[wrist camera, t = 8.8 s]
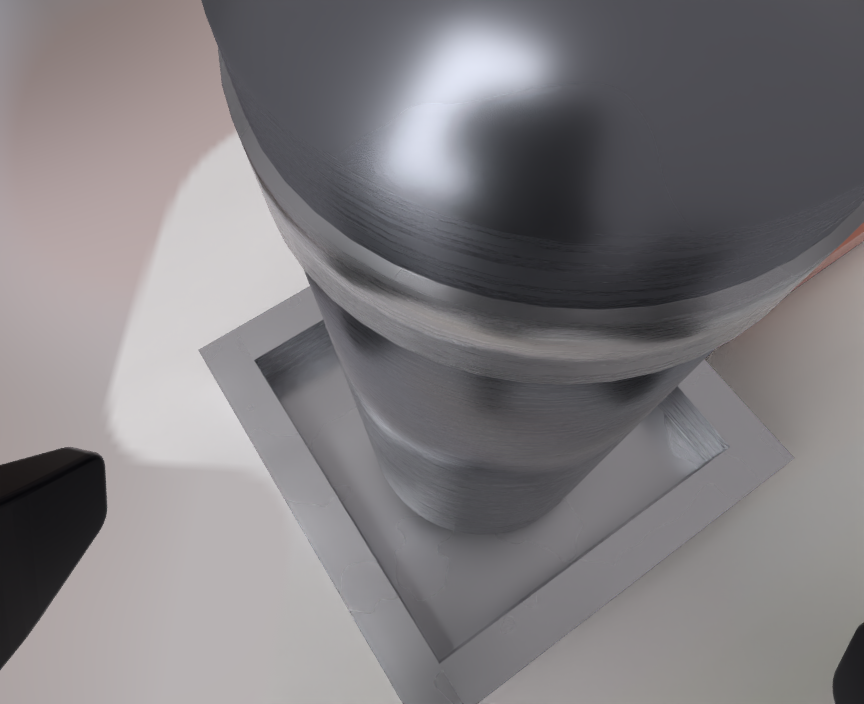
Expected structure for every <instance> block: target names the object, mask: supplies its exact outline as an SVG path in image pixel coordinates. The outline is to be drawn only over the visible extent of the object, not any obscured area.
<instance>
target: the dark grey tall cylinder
mask: <svg viewBox="0 0 864 704" xmlns="http://www.w3.org/2000/svg"><path fill="white" fill-rule="evenodd" d="M202 3H203V7H204V10H205V14H206V16H207V19H208V22H209V24H210V27H211V29H212V32H213V35H214V37H215V40H216V42H217V45H218V52H219V62H220V71H221V80H222V86H223V90H224V94H225V97H226V100H227V103H228V107H229V111H230V114H231V117H232V120H233V123H234V125H235V128H236V130H237V133H238V135H239V138H240V140H241V142H242V145H243V147H244V150H245V152H246V154H247V157H248V159H249V162H250V164H251V167H252V169H253V171H254V174H255V176H256V179H257V181H258V184H259V186H260V188H261V191H262V193H263V196H264V198H265V200H266V203H267V205H268V208H269V210H270V212H271V214H272V217H273V219H274V221H275V223H276V225H277V227H278V229H279V231H280V233H281V235H282V237H283V239H284V241H285V243H286V244H287V246H288V247H289V249H290V250H291V251H292V253H293V254H294V256H295V257H296V259H297V260H298V262H299V263H300V264H301V266H302V267H303V269H304V271H305V274H306V276H307V279H308V281H309V284H310V287H311V289H312V292H313V294H314V297H315V300H316V302H317V305H318V307H319V310H320V313H321V315H322V318H323V320H324V323H325V326H326V328H327V331H328V333H329V336H330V339H331V341H332V344H333V346H334V349H335V352H336V354H337V357H338V359H339V362H340V365H341V367H342V370H343V372H344V375H345V378H346V380H347V383H348V385H349V388H350V391H351V393H352V396H353V398H354V401H355V403H356V406H357V409H358V411H359V414H360V416H361V419H362V422H363V424H364V427H365V429H366V432H367V435H368V437H369V440H370V442H371V445H372V448H373V450H374V453H375V455H376V458H377V461H378V463H379V466H380V468H381V470H382V472H383V474H384V476H385V478H386V480H387V481H388V483H389V485H390V486H391V488H392V489H393V491H394V492H395V493H396V494H397V495H398V496H399V498H400V499H401V500H402V501H403V502H404V503H405V504H406V505H407V506H409V507H410V508H411V509H412V510H413V511H414V512H416V513H417V514H419V515H420V516H422V517H423V518H425V519H426V520H428V521H430V522H432V523H434V524H436V525H438V526H441V527H444V528H447V529H450V530H453V531H456V532H462V533H467V534H479V535H487V534H499V533H504V532H508V531H513V530H516V529H519V528H521V527H524V526H527V525H529V524H531V523H533V522H535V521H536V520H538V519H540V518H542V517H543V516H544V515H546V514H547V513H548V512H550V511H551V510H552V509H553V508H554V507H556V506H557V505H558V504H559V503H560V502H561V501H562V500H563V499H564V498H565V497H566V496H567V495H568V494H569V493H570V492H571V491H572V490H573V489H574V488H575V487H576V486H577V485H578V484H579V483H580V482H581V481H582V480H583V479H584V478H585V477H586V476H587V475H588V474H589V473H590V472H591V471H592V470H593V469H594V468H595V467H596V466H597V465H598V464H599V463H600V462H601V461H602V460H603V459H604V458H605V457H606V456H607V455H608V454H609V453H610V452H611V451H612V450H613V449H614V448H615V447H616V446H617V445H618V444H619V443H620V442H621V441H622V440H623V439H624V438H625V437H626V436H627V435H628V434H629V433H630V432H631V431H632V430H633V429H634V428H635V427H637V426H638V425H639V424H640V423H641V422H642V421H643V420H644V419H645V418H646V417H647V416H648V415H649V414H650V413H651V412H652V411H653V410H654V409H655V408H656V407H657V406H658V405H659V404H660V403H661V402H662V401H663V400H664V399H665V398H666V397H667V396H668V395H669V394H670V393H671V392H672V391H673V390H674V389H675V388H676V387H677V386H678V385H679V384H680V383H681V382H682V381H683V380H684V379H685V378H686V377H687V376H688V375H689V374H690V373H691V372H692V371H693V370H694V369H695V368H696V367H697V366H698V365H699V364H700V363H701V362H702V361H703V360H704V359H705V358H706V357H707V356H708V355H709V354H710V353H711V352H712V351H713V350H714V349H715V348H717V347H719V346H721V345H723V344H725V343H727V342H729V341H731V340H733V339H734V338H735V337H737V336H738V335H740V334H741V333H742V332H744V331H745V330H747V329H748V328H749V327H751V326H752V325H754V324H755V323H756V322H758V321H759V320H761V319H762V318H763V317H764V316H765V315H766V314H767V313H769V312H770V311H771V310H772V309H773V308H774V307H775V306H776V305H777V304H778V303H779V302H780V301H781V300H782V299H783V298H785V297H786V296H787V295H788V294H789V293H790V292H791V291H792V290H793V289H794V288H795V287H796V286H797V285H798V284H799V283H801V282H802V281H803V280H804V279H805V278H806V277H807V276H808V275H809V274H810V273H811V272H812V271H813V270H814V269H815V268H816V267H818V266H819V265H820V264H821V263H822V262H823V261H824V260H825V259H826V258H827V257H828V256H829V255H830V254H831V253H832V252H834V251H835V250H836V249H837V248H838V247H839V246H840V245H841V244H842V243H843V242H844V241H845V240H846V239H847V238H848V237H849V236H850V235H851V234H852V233H853V232H854V231H855V230H856V229H857V228H858V227H859V226H860V225H861V224H862V223H863V222H864V0H202Z"/></svg>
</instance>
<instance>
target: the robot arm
mask: <svg viewBox="0 0 864 704" xmlns="http://www.w3.org/2000/svg"><path fill="white" fill-rule="evenodd" d="M106 514H107V495H106V476H105V464H104V460H103V458H102V456H100V455H99V454H98V453H96V452H91V451H87V450H82V449H78V448H73V447H65V448H61V449H57V450H54V451H50V452H46V453H42V454H39V455H35V456H32V457H28V458H25V459H21V460H17V461H13V462H10V463H6V464H2V465H0V670H1V669H2V667H3V666H4V665H5V664H6V663H7V661H8V660H9V659H10V658H11V656H12V655H13V654H14V653H15V651H16V650H17V649H18V648H19V646H20V645H21V644H22V643H23V641H24V640H25V639H26V637H27V636H28V635H29V633H30V632H31V631H32V629H33V628H34V626H35V625H36V624H37V622H38V621H39V620H40V618H41V617H42V615H43V614H44V612H45V611H46V609H47V608H48V606H49V605H50V603H51V602H52V600H53V599H54V597H55V596H56V595H57V593H58V592H59V590H60V589H61V587H62V586H63V584H64V583H65V581H66V580H67V578H68V577H69V575H70V574H71V572H72V571H73V570H74V568H75V567H76V565H77V564H78V562H79V561H80V559H81V558H82V556H83V555H84V553H85V552H86V550H87V549H88V547H89V546H90V544H91V543H92V542H93V540H94V538H95V537H96V535H97V534H98V533H99V531H100V529H101V527H102V526H103V524H104V521H105V518H106ZM833 696H834V701H835V704H864V623H862V624H861V625H860V626H859V627H858V628H857V630H856V632H855V634H854V636H853V638H852V639H851V641H850V643H849V645H848V647H847V649H846V651H845V653H844V655H843V657H842V659H841V661H840V663H839V665H838V667H837V669H836V671H835V674H834V678H833Z"/></svg>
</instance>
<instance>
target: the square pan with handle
mask: <svg viewBox="0 0 864 704" xmlns="http://www.w3.org/2000/svg"><path fill="white" fill-rule="evenodd" d="M863 241H864V222H863V223H862V224H861V225H860V226H859V227H858V228H857V229H856V230H855V231H854V232H853V233H852V234H851V235H850V236H849V237H848V238H847V239H846V240H845V241H844V242H843V243H842V244H841V245H840V246H839V247H838V248H837V249H836V250H835V251H834V252H832V253H831V254H830V255H829V256H828V257H827V258H826V259H825V260H824V261H823V262H822V263H821V264H820V265H819V266H818V267H816V268H815V269H814V270H813V271H812V272H811V273H810V274H809V275H808V276H807V277H806V278H805V279H804V280H803V281H802V282H801V283H799V284H798V285H797V286H796V287H795V288H794V289H796V288H797V287H799V286H800V285H801V284H803V283H804V282H806V281H807V280H809V279H810V278H811V277H813V276H814V275H816V274H817V273H819V272H820V271H822V270H823V269H824V268H826V267H827V266H829V265H830V264H832V263H833V262H834V261H836V260H837V259H839V258H840V257H842V256H843V255H844V254H846V253H847V252H849V251H850V250H852V249H853V248H854V247H856V246H857V245H859V244H860V243H862V242H863ZM794 289H793V290H794ZM793 290H792V291H793ZM199 352H200V354H201V355H202V357H203V359H204V361H205V362H206V364H207V366H208V368H209V369H210V371H211V373H212V374H213V376H214V378H215V380H216V381H217V383H218V385H219V387H220V388H221V390H222V392H223V394H224V395H225V397H226V399H227V400H228V402H229V404H230V406H231V407H232V409H233V411H234V413H235V414H236V416H237V418H238V419H239V421H240V423H241V425H242V426H243V428H244V430H245V432H246V433H247V435H248V437H249V439H250V440H251V442H252V444H253V445H254V447H255V449H256V451H257V452H258V454H259V456H260V458H261V459H262V461H263V463H264V464H265V466H266V468H267V470H268V471H269V473H270V475H271V477H272V478H273V480H274V482H275V483H276V485H277V487H278V489H279V490H280V492H281V494H282V496H283V497H284V499H285V501H286V503H287V504H288V506H289V508H290V509H291V511H292V513H293V515H294V516H295V518H296V520H297V522H298V523H299V525H300V527H301V528H302V530H303V532H304V534H305V535H306V537H307V539H308V541H309V542H310V544H311V546H312V547H313V549H314V551H315V553H316V554H317V556H318V558H319V560H320V561H321V563H322V565H323V567H324V568H325V570H326V572H327V573H328V575H329V577H330V579H331V580H332V582H333V584H334V586H335V587H336V589H337V591H338V592H339V594H340V596H341V598H342V599H343V601H344V603H345V605H346V606H347V608H348V610H349V611H350V613H351V615H352V617H353V618H354V620H355V622H356V624H357V625H358V627H359V629H360V631H361V632H362V634H363V636H364V637H365V639H366V641H367V643H368V644H369V646H370V648H371V650H372V651H373V653H374V655H375V656H376V658H377V660H378V662H379V663H380V665H381V667H382V669H383V670H384V672H385V674H386V675H387V677H388V679H389V681H390V682H391V684H392V686H393V688H394V689H395V691H396V693H397V695H398V696H399V698H400V700H401V701H402V703H403V704H477V703H479V702H480V701H481V700H483V699H484V698H485V697H486V696H488V695H489V694H490V693H492V692H493V691H494V690H495V689H497V688H498V687H499V686H501V685H502V684H503V683H505V682H506V681H507V680H508V679H510V678H511V677H512V676H514V675H515V674H516V673H517V672H519V671H520V670H521V669H523V668H524V667H525V666H526V665H528V664H529V663H530V662H532V661H533V660H534V659H536V658H537V657H538V656H539V655H541V654H542V653H543V652H545V651H546V650H547V649H548V648H550V647H551V646H552V645H554V644H555V643H556V642H558V641H559V640H560V639H561V638H563V637H564V636H565V635H567V634H568V633H569V632H570V631H572V630H573V629H574V628H576V627H577V626H578V625H579V624H581V623H582V622H583V621H585V620H586V619H587V618H589V617H590V616H591V615H592V614H594V613H595V612H596V611H598V610H599V609H600V608H601V607H603V606H604V605H605V604H607V603H608V602H609V601H610V600H612V599H613V598H614V597H616V596H617V595H618V594H620V593H621V592H622V591H623V590H625V589H626V588H627V587H629V586H630V585H631V584H632V583H634V582H635V581H636V580H638V579H639V578H640V577H641V576H643V575H644V574H645V573H647V572H648V571H649V570H651V569H652V568H653V567H654V566H656V565H657V564H658V563H660V562H661V561H662V560H663V559H665V558H666V557H667V556H669V555H670V554H671V553H672V552H674V551H675V550H676V549H678V548H679V547H680V546H682V545H683V544H684V543H685V542H687V541H688V540H689V539H691V538H692V537H693V536H694V535H696V534H697V533H698V532H700V531H701V530H702V529H703V528H705V527H706V526H707V525H709V524H710V523H711V522H713V521H714V520H715V519H716V518H718V517H719V516H720V515H722V514H723V513H724V512H725V511H727V510H728V509H729V508H731V507H732V506H733V505H734V504H736V503H737V502H738V501H740V500H741V499H742V498H744V497H745V496H746V495H747V494H749V493H750V492H751V491H753V490H754V489H755V488H756V487H758V486H759V485H760V484H762V483H763V482H764V481H765V480H767V479H768V478H769V477H771V476H772V475H773V474H775V473H776V472H777V471H778V470H780V469H781V468H782V467H784V466H785V465H786V464H787V463H789V462H790V461H791V460H793V459H794V457H793V456H792V455H791V454H790V453H789V452H788V451H787V449H786V448H785V447H784V446H783V445H782V444H781V443H780V442H779V441H778V440H777V438H776V437H775V436H774V435H773V434H772V433H771V432H770V431H769V430H768V429H767V427H766V426H765V425H764V424H763V423H762V422H761V421H760V420H759V419H758V418H757V416H756V415H755V414H754V413H753V412H752V411H751V410H750V409H749V408H748V406H747V405H746V404H745V403H744V402H743V401H742V400H741V399H740V398H739V397H738V395H737V394H736V393H735V392H734V391H733V390H732V389H731V388H730V387H729V386H728V384H727V383H726V382H725V381H724V380H723V379H722V378H721V377H720V376H719V375H718V373H717V372H716V371H715V370H714V369H713V368H712V367H711V366H710V365H709V363H708V362H707V361H706V360H705V359H704V360H703V361H702V362H701V363H700V364H699V365H698V366H697V367H696V368H695V369H694V370H693V371H692V372H691V373H690V374H689V375H688V376H687V377H686V378H685V379H684V380H683V381H682V382H681V383H680V384H679V385H678V386H677V387H676V388H675V389H674V390H673V391H672V392H671V393H670V394H669V395H668V396H667V397H666V398H665V399H664V400H663V401H662V402H661V403H660V404H659V405H658V406H657V407H656V408H655V409H654V410H653V411H652V412H651V413H650V414H649V415H648V416H647V417H646V418H645V419H644V420H643V421H642V422H641V423H640V424H639V425H638V426H637V427H635V428H634V429H633V430H632V431H631V432H630V433H629V434H628V435H627V436H626V437H625V438H624V439H623V440H622V441H621V442H620V443H619V444H618V445H617V446H616V447H615V448H614V449H613V450H612V451H611V452H610V453H609V454H608V455H607V456H606V457H605V458H604V459H603V460H602V461H601V462H600V463H599V464H598V465H597V466H596V467H595V468H594V469H593V470H592V471H591V472H590V473H589V474H588V475H587V476H586V477H585V478H584V479H583V480H582V481H581V482H580V483H579V484H578V485H577V486H576V487H575V488H574V489H573V490H572V491H571V492H570V493H569V494H568V495H567V496H566V497H565V498H564V499H563V500H562V501H561V502H560V503H559V504H558V505H557V506H556V507H554V508H553V509H552V510H551V511H550V512H548V513H547V514H546V515H544V516H543V517H542V518H540V519H538V520H536V521H535V522H533V523H531V524H529V525H527V526H524V527H521V528H519V529H516V530H513V531H508V532H504V533H499V534H487V535H479V534H467V533H462V532H456V531H453V530H450V529H447V528H444V527H441V526H438V525H436V524H434V523H432V522H430V521H428V520H426V519H425V518H423V517H422V516H420V515H419V514H417V513H416V512H414V511H413V510H412V509H411V508H410V507H409V506H407V505H406V504H405V503H404V502H403V501H402V500H401V499H400V498H399V496H398V495H397V494H396V493H395V492H394V491H393V489H392V488H391V486H390V485H389V483H388V481H387V480H386V478H385V476H384V474H383V472H382V470H381V468H380V466H379V463H378V461H377V458H376V455H375V453H374V450H373V448H372V445H371V442H370V440H369V437H368V435H367V432H366V429H365V427H364V424H363V422H362V419H361V416H360V414H359V411H358V409H357V406H356V403H355V401H354V398H353V396H352V393H351V391H350V388H349V385H348V383H347V380H346V378H345V375H344V372H343V370H342V367H341V365H340V362H339V359H338V357H337V354H336V352H335V349H334V346H333V344H332V341H331V339H330V336H329V333H328V331H327V328H326V326H325V323H324V320H323V318H322V315H321V313H320V310H319V307H318V305H317V302H316V300H315V297H314V294H313V292H312V289H311V287H310V286H309V287H307V288H306V289H304V290H302V291H300V292H299V293H297V294H295V295H293V296H292V297H290V298H288V299H286V300H285V301H283V302H281V303H280V304H278V305H276V306H274V307H273V308H271V309H269V310H267V311H266V312H264V313H262V314H260V315H259V316H257V317H255V318H253V319H252V320H250V321H248V322H246V323H245V324H243V325H241V326H239V327H238V328H236V329H234V330H232V331H231V332H229V333H227V334H225V335H224V336H222V337H220V338H218V339H217V340H215V341H213V342H211V343H210V344H208V345H206V346H205V347H203V348H201V349H199Z"/></svg>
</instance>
